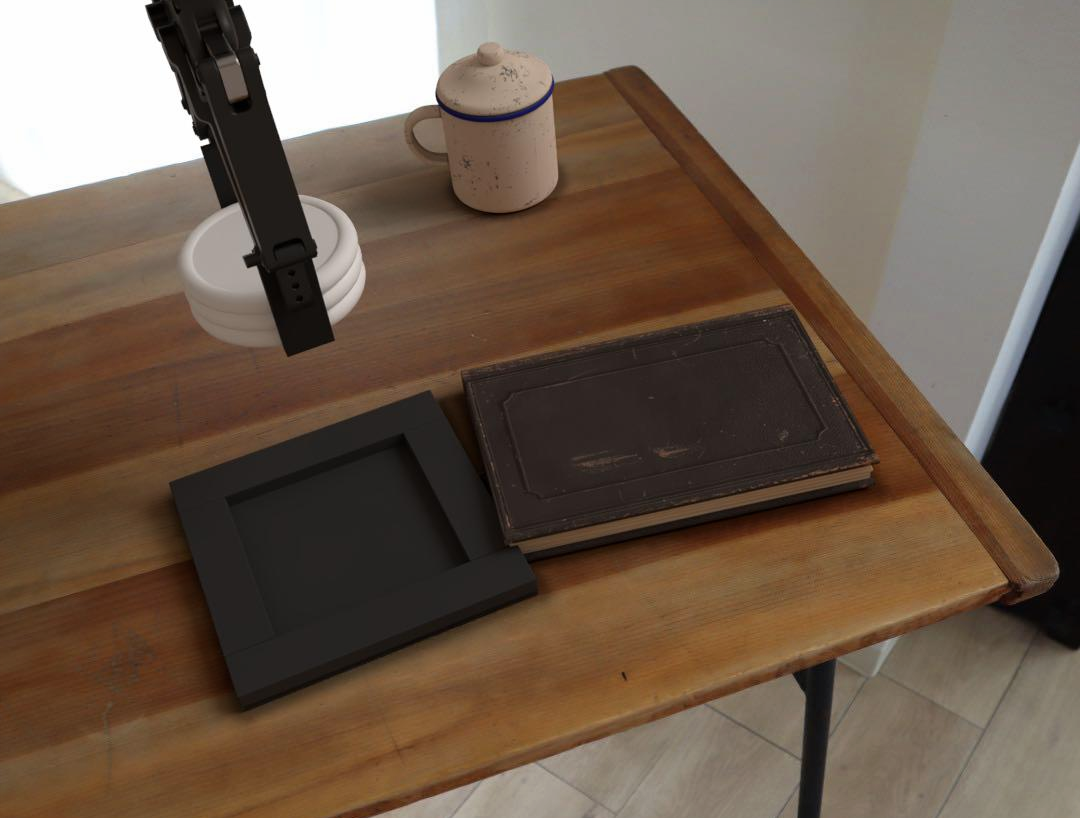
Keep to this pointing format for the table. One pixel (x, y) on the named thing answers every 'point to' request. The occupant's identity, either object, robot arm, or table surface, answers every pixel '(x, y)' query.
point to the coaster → (237, 292)
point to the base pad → (345, 547)
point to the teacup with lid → (494, 129)
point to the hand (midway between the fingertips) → (281, 290)
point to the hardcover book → (662, 431)
